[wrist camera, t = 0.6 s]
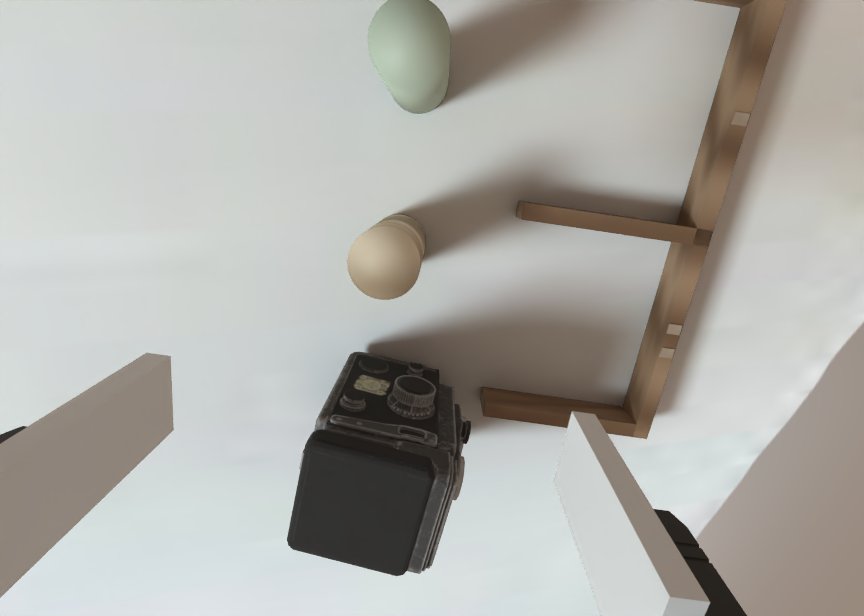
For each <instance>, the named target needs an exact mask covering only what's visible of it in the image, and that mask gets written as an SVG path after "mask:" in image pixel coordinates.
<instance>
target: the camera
mask: <svg viewBox="0 0 864 616" xmlns="http://www.w3.org/2000/svg"><path fill="white" fill-rule="evenodd" d="M470 430H471V422H470V421H466V420H465V417H461V409H460V406H459V405H457V404H454V390H453V387H448V386H444V385H440V384H439V370H436V369H435V370H434V369H430V368H425V367H423V366H422V365H421V364H418V363H410V364H409V363H405V362H401V361H397V360H393V359H389V358H385V357H381V356H377V355H373V354H369V353H364V352H354V353H352V354H350V356H349V358H348V360H347V362H346V364H345V366H344V368H343V370H342V372H341V374H340V375H339V377H338V379H337V381H336V383H335V385H334V387H333V389H332V391H331V393H330V395H329V397H328V399H327V401H326V403H325V404H324V406H323V408H322V410H321V412H320V414H319V416H318V418H317V420H316V425H315V430H314V432H313V433H312V434H311V436H310V437H309V439H308V441H307V443H306V445H305V449H304V451H303V453H302V458H301V463H300V469H301V470H300V475H299V481H298V486H297V491H296V496H295V501H294V506H293V511H292V517H291V522H290V527H289V532H288V537H287V541H288V545H289V546H290V547H291V548H292V549H294V550H297V551H301V552H305V553H309V554H313V555H317V556H321V557H325V558H328V559H332V560H336V561H340V562H344V563H348V564H352V565H356V566H359V567H363V568H367V569H371V570H375V571H379V572H383V573H387V574H391V575H394V576H400V575H403V574H404V573H405V572H406V571H410V572H414V573H419V574H420V573H421V571H425V569H426V568H428V569H429V568H430V566H432V563H433V560H434V557H435V554H436V551H437V547H438V544H439V541H440V538H441V535H442V532H443V528H444V525H445V522H446V519H447V516H448V513H449V509H450V506H451V503H452V500H456V499H457V498H458V496H459V493H460V490H461V486H462V482H463V476H464V466H465V461H464V457H462V456H461V452H462V448H463V444H466V443H467V442H468V439H469V435H470Z"/></svg>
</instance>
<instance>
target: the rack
mask: <svg viewBox="0 0 864 616" xmlns="http://www.w3.org/2000/svg"><path fill="white" fill-rule="evenodd" d="M695 1H701V2H707V3H714V4H720V5H726V6H733V7H739V8H741V9H740V12H739V16H738V19H737V22H736V26H735V29H734V33H733V36H732V39H731V43H730V46H729V49H728V53H727V56H726V60H725V63H724V66H723V70H722V73H721V77H720V80H719V83H718V87H717V90H716V93H715V97H714V100H713V104H712V107H711V110H710V114H709V117H708V121H707V124H706V127H705V131H704V134H703V137H702V141H701V144H700V148H699V151H698V154H697V158H696V161H695V165H694V168H693V171H692V175H691V178H690V181H689V185H688V188H687V192H686V195H685V198H684V202H683V205H682V208H681V212H680V215H679V219H678V222H677V224H670V223H663V222H657V221H650V220H643V219H637V218H630V217H623V216H617V215H610V214H603V213H597V212H590V211H583V210H576V209H570V208H563V207H556V206H550V205H543V204H536V203H530V202H523V201H518V207H517V212H516V217H518V218H520V219H522V220H529V221H536V222H543V223H549V224H556V225H563V226H569V227H576V228H583V229H590V230H596V231H603V232H610V233H616V234H623V235H630V236H637V237H643V238H650V239H657V240H663V241H670V242H671V246H670V249H669V252H668V256H667V259H666V263H665V266H664V269H663V273H662V276H661V280H660V283H659V286H658V290H657V293H656V296H655V300H654V303H653V307H652V310H651V313H650V317H649V320H648V324H647V327H646V330H645V334H644V337H643V340H642V344H641V347H640V351H639V354H638V357H637V361H636V364H635V367H634V371H633V374H632V378H631V381H630V384H629V388H628V391H627V395H626V398H625V401H624V405H623V407H620V406H613V405H606V404H599V403H592V402H585V401H578V400H571V399H564V398H557V397H550V396H543V395H536V394H529V393H521V392H514V391H507V390H500V389H493V388H486V387H482V393H481V398H480V400H481V406H482V412H483V416H487V417H494V418H501V419H508V420H516V421H523V422H530V423H537V424H544V425H551V426H558V427H565V428H568V424H569V420H570V416H571V413H572V411H575V412H582V413H590V414H595V415H596V417H597V418H598V420H599V422H600V423H601V425H602V426H603V428H604V430H605V431H606V433H608V434H615V435H622V436H630V437H637V438H644V439H647V437H648V434H649V431H650V428H651V424H652V421H653V418H654V415H655V412H656V409H657V406H658V403H659V399H660V396H661V393H662V390H663V387H664V384H665V381H666V378H667V374H668V371H669V368H670V365H671V362H672V359H673V356H674V353H675V349H676V346H677V343H678V340H679V337H680V334H681V331H682V327H683V324H684V321H685V318H686V315H687V312H688V309H689V306H690V302H691V299H692V296H693V293H694V290H695V287H696V284H697V281H698V277H699V274H700V271H701V268H702V265H703V262H704V259H705V256H706V252H707V249H708V246H709V243H710V240H711V237H712V234H713V231H714V227H715V224H716V221H717V218H718V215H719V212H720V209H721V206H722V202H723V199H724V196H725V193H726V190H727V187H728V184H729V181H730V177H731V174H732V171H733V168H734V165H735V162H736V159H737V156H738V152H739V149H740V146H741V143H742V140H743V137H744V134H745V130H746V127H747V124H748V121H749V118H750V115H751V112H752V109H753V105H754V102H755V99H756V96H757V93H758V90H759V87H760V84H761V80H762V77H763V74H764V71H765V68H766V65H767V62H768V59H769V55H770V52H771V49H772V46H773V43H774V40H775V37H776V34H777V30H778V27H779V24H780V21H781V18H782V15H783V12H784V9H785V5H786V2H787V0H695Z"/></svg>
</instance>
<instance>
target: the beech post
mask: <svg viewBox="0 0 864 616" xmlns="http://www.w3.org/2000/svg"><path fill="white" fill-rule="evenodd" d="M425 247H426V237H425V233H424V231H423V229H422V227H421V226H420V224H419V223H418V222H417V221H416V220H414V219H413V218H411V217H409V216H406V215H401V214H396V215H391V216H388V217H386V218H384V219H383V220H381V221H380V222H379V223H377V224H376V225H374V226H373V227H371V228H370V229H369V230H367V231H366V232H364V233H363V234H361V235H360V236H359V237H358V238H357V239H356V240H355V241H354V243H353V244H352V246H351V248H350V250H349V254H348V260H347V265H348V271H349V274H350V277H351V279H352V281H353V283H354V284H355V285H356V287H357V288H358V289H359V290H361V291H362V292H363V293H365V294H366V295H368V296H370V297H373V298H376V299H382V300H389V299H394V298H397V297H400V296H402V295H404V294H405V293H407V292H408V291H409V290H410V289H411V288H412V287H413V285H414V284H415V282H416V280H417V278H418V275H419V272H420V268H421V263H422V259H423V255H424V251H425Z"/></svg>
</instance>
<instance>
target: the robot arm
mask: <svg viewBox="0 0 864 616" xmlns="http://www.w3.org/2000/svg"><path fill="white" fill-rule="evenodd" d="M173 430H174V429H173V405H172V381H171V356H166V355H159V354H151V353H146V354H144V355H142V356H141V357H139V358H138V359H136V360H134V361H133V362H131V363H130V364H128V365H126V366H125V367H123V368H122V369H120V370H118V371H117V372H115V373H113V374H112V375H110V376H109V377H107V378H105V379H104V380H102V381H101V382H99V383H97V384H96V385H94V386H93V387H91V388H89V389H88V390H86V391H84V392H83V393H81V394H80V395H78V396H76V397H75V398H73V399H72V400H70V401H68V402H67V403H65V404H64V405H62V406H60V407H59V408H57V409H55V410H54V411H52V412H51V413H49V414H47V415H46V416H44V417H43V418H41V419H39V420H38V421H36V422H35V423H33V424H31V425H30V426H28V427H25V426H22V427H19V428H17V429H14V430H11V431H9V432H6V433H4V434H1V435H0V597H2V596H3V595H4V594H5V593H6V592H7V591H8V590H9V589H10V588H11V587H12V586H13V585H14V584H15V583H16V582H17V581H18V580H19V579H20V578H21V577H22V576H23V575H24V574H25V573H26V572H27V571H28V570H29V569H30V568H31V567H33V566H34V565H35V564H36V563H37V562H38V561H39V560H40V559H41V558H42V557H43V556H44V555H45V554H46V553H47V552H48V551H49V550H50V549H51V548H52V547H53V546H54V545H55V544H56V543H57V542H58V541H59V540H60V539H61V538H62V537H63V536H65V535H66V534H67V533H68V532H69V531H70V530H71V529H72V528H73V527H74V526H75V525H76V524H77V523H78V522H79V521H80V520H81V519H82V518H83V517H84V516H85V515H86V514H87V513H88V512H89V511H90V510H91V509H92V508H93V507H94V506H96V505H97V504H98V503H99V502H100V501H101V500H102V499H103V498H104V497H105V496H106V495H107V494H108V493H109V492H110V491H111V490H112V489H113V488H114V487H115V486H116V485H117V484H118V483H119V482H120V481H121V480H122V479H123V478H124V477H125V476H127V475H128V474H129V473H130V472H131V471H132V470H133V469H134V468H135V467H136V466H137V465H138V464H139V463H140V462H141V461H142V460H143V459H144V458H145V457H146V456H147V455H148V454H149V453H150V452H151V451H152V450H153V449H154V448H155V447H156V446H158V445H159V444H160V443H161V442H162V441H163V440H164V439H165V438H166V437H167V436H168V435H169V434H170V433H171V432H172V431H173ZM554 484H555V487H556V490H557V492H558V495H559V498H560V501H561V504H562V507H563V510H564V512H565V515H566V518H567V521H568V524H569V527H570V530H571V532H572V535H573V538H574V541H575V544H576V547H577V550H578V552H579V555H580V558H581V561H582V564H583V567H584V569H585V572H586V575H587V578H588V581H589V584H590V587H591V589H592V592H593V595H594V598H595V601H596V604H597V607H598V609H599V612H600V615H601V616H747V615H746V614H745V612H744V611H743V609H742V608H741V606H740V605H739V603H738V602H737V601H736V599H735V597H734V596H733V595H732V593H731V592H730V590H729V589H728V587H727V586H726V584H725V583H724V581H723V580H722V579H721V577H720V575H719V574H718V572H717V571H716V569H715V568H714V566H713V565H712V564H711V563H709V559H708V557H707V556H706V555H705V553H704V552H703V550H702V549H701V548H699V544H698V543H697V541H696V540H695V538H694V537H693V535H692V534H691V532H690V531H689V529H688V528H687V527H686V526H685V525H684V524H683V523H682V522H681V521H679V520H678V519H677V518H676V517H675V516H674V515H673V514H672V513H671V512H669V511H664V510H657V509H653V508H652V506H651V505H650V503H649V501H648V500H647V498H646V497H645V495H644V493H643V492H642V490H641V488H640V487H639V485H638V484H637V482H636V480H635V479H634V477H633V475H632V474H631V472H630V470H629V469H628V467H627V466H626V464H625V462H624V461H623V459H622V457H621V456H620V454H619V453H618V451H617V449H616V448H615V446H614V444H613V443H612V441H611V440H610V438H609V436H608V435H607V433H606V431H605V430H604V428H603V426H602V425H601V423H600V422H599V420H598V418H597V417H596V415H595V414H590V413H582V412H575V411H572V413H571V416H570V420H569V424H568V428H567V432H566V435H565V439H564V443H563V447H562V451H561V454H560V458H559V462H558V466H557V470H556V473H555V477H554Z"/></svg>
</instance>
